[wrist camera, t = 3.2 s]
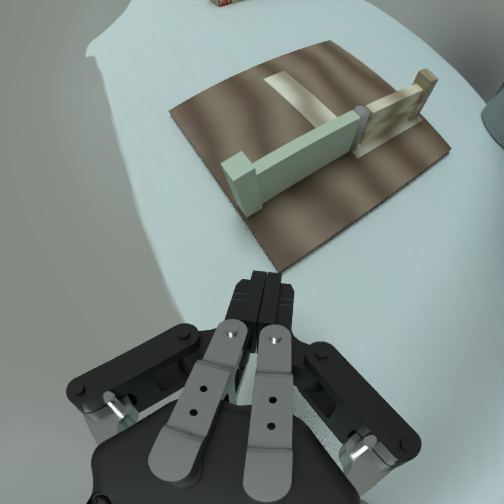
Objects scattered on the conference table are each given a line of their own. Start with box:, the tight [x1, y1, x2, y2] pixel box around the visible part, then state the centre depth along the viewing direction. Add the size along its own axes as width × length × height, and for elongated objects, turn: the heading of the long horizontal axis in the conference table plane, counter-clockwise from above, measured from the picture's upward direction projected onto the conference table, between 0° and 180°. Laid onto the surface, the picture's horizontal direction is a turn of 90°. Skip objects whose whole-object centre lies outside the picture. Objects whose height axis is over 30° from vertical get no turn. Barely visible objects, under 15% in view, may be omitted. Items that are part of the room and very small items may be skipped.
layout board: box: [169, 40, 451, 273], centre depth 32 cm, size 30×27×1 cm
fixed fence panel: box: [358, 68, 438, 146], centre depth 26 cm, size 12×2×8 cm, turn 123°
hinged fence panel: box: [221, 106, 370, 218], centre depth 25 cm, size 16×2×8 cm, turn 123°
